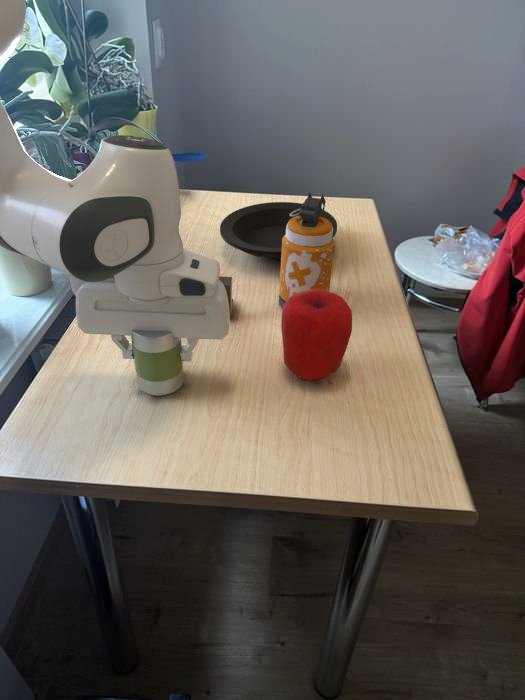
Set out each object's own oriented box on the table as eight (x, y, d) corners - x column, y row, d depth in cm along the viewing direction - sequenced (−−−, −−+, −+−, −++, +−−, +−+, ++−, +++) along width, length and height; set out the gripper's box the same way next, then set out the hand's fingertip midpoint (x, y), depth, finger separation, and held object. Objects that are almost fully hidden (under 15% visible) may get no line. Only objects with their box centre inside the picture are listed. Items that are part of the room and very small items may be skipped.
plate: (295, 289, 102) (297, 263, 98) (195, 257, 112) (194, 232, 108) (353, 240, 121) (357, 216, 118) (264, 216, 131) (265, 194, 128)
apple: (330, 401, 76) (341, 321, 68) (266, 379, 79) (269, 301, 71) (353, 362, 84) (366, 286, 76) (294, 344, 87) (300, 269, 79)
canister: (272, 312, 95) (278, 204, 83) (288, 284, 103) (295, 182, 92) (321, 321, 93) (334, 211, 81) (333, 292, 101) (346, 189, 90)
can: (145, 401, 74) (138, 342, 68) (131, 374, 78) (123, 317, 73) (190, 387, 76) (187, 330, 71) (174, 362, 81) (169, 306, 75)
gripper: (58, 278, 64) (78, 368, 73) (226, 285, 64) (227, 374, 72) (75, 255, 70) (92, 341, 78) (230, 262, 69) (231, 347, 77)
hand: (158, 357), depth 75 cm, fingers closed on can, 7 cm apart
